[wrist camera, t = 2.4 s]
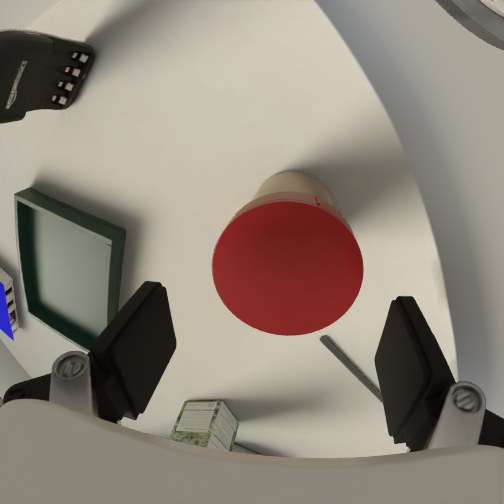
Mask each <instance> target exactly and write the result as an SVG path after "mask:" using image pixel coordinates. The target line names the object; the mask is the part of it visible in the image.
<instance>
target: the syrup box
mask: <svg viewBox="0 0 504 504" xmlns="http://www.w3.org/2000/svg"><path fill="white" fill-rule="evenodd" d="M238 425H239V423H238V421H237V420H236V419H235V417H234V416H233V415H232V413H231V412H230V411H229V409H228V408H227V407H226V405H225V404H224V402H223V401H222V400H214V401H185V402H184V404H183V407H182V409H181V411H180V414H179V416H178V418H177V421H176V423H175V425H174V428H173V430H172V432H171V435H170V437H169V440H173V441H178V442H182V443H186V444H191V445H196V446H201V447H206V448H212V449H218V450H224V451H230V452H232V449H233V445H234V441H235V437H236V433H237V429H238Z"/></svg>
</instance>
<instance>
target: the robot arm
mask: <svg viewBox="0 0 504 504" xmlns="http://www.w3.org/2000/svg"><path fill="white" fill-rule="evenodd" d="M480 1H481V2H482V3H483V4H485V5H486V6H487V7H488V8H490V9H491V10H493V11H494V12H495V13H497V14H499V15H500V16H502V17H504V0H480ZM89 349H90V351H89V353H88V354H85V353H83V352H81V351H70V352H67V353H64V354H63V355H61V356H60V357H58V358H57V359H56V361H55V362H54V363H53V367H52V373H50V374H47V375H44V376H41V377H37V378H34V379H31V380H27V381H24V382H20V383H17V384H15V385H13V386H12V387H10V388H9V389H8V390H7V391H6V393H5V395H4V399H2V398H1V397H0V504H504V419H503V418H501V417H499V416H497V415H496V414H494V413H492V412H490V411H489V410H487V409H485V407H486V398H485V395H484V393H483V391H482V390H481V389H480V388H479V387H478V386H477V385H475V384H473V383H471V382H467V381H461V382H457V383H456V382H455V380H454V377H453V375H452V373H451V370H450V368H449V366H448V364H447V361H446V359H445V357H444V355H443V353H442V351H441V349H440V347H439V344H438V342H437V340H436V338H435V336H434V335H433V333H432V331H431V329H430V328H429V326H428V324H427V322H426V320H425V318H424V316H423V314H422V312H421V310H420V308H419V307H418V305H417V303H416V301H415V299H414V298H413V297H412V296H398V297H397V298H396V300H393V301H392V302H391V305H390V309H389V312H388V316H387V319H386V323H385V326H384V330H383V333H382V336H381V339H380V343H379V346H378V349H377V352H376V355H375V367H376V371H377V376H378V380H379V385H380V390H381V395H382V400H383V405H384V410H385V416H386V421H387V427H388V433H389V435H390V436H393V438H394V444H398V443H406V446H407V447H409V449H408V451H407V453H401V454H392V455H382V456H371V457H356V458H291V457H275V456H263V455H254V454H245V453H237V452H230V451H224V450H218V449H212V448H206V447H201V446H196V445H191V444H186V443H182V442H178V441H173V440H169V439H165V438H161V437H157V436H154V435H150V434H147V433H143V432H140V431H136V430H133V429H130V428H127V427H124V426H121V421H120V420H122V418H123V416H124V417H127V418H130V419H133V420H136V419H137V417H138V415H139V413H140V414H142V413H143V412H144V411H145V409H146V407H147V405H148V403H149V401H150V399H151V397H152V395H153V393H154V391H155V389H156V387H157V385H158V383H159V381H160V379H161V377H162V375H163V373H164V371H165V369H166V367H167V365H168V363H169V361H170V359H171V357H172V355H173V353H174V351H175V349H176V337H175V332H174V328H173V323H172V318H171V313H170V307H169V302H168V297H167V291H166V288H165V287H163V286H162V284H161V283H160V282H152V281H145V282H144V283H143V284H142V285H141V287H140V288H139V289H138V290H137V291H136V292H135V293H134V295H133V296H132V297H131V298H130V299H129V300H128V302H127V303H126V304H125V305H124V306H123V307H122V309H121V310H120V311H119V312H118V313H117V314H116V316H115V317H114V318H113V319H112V320H111V322H110V323H109V324H108V325H107V326H106V328H105V329H104V330H103V331H102V333H101V334H100V335H99V336H98V337H97V339H96V340H95V341H94V342H93V344H92V345H91V346H90V347H89Z"/></svg>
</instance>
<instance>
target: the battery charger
mask: <svg viewBox="0 0 504 504" xmlns="http://www.w3.org/2000/svg"><path fill="white" fill-rule="evenodd" d="M94 57H95V52H94V50H93V48H92V47H91V46H90V45H88V44H87V43H86V42H84V41H79V40H73V39H68V38H63V37H59V36H55V35H51V34H47V33H42V32H37V31H31V30H21V29H3V30H0V124H1V123H8V122H13V121H19V120H22V119H23V118H24V117H25V114H26V112H28V111H33V110H39V109H53V110H62V109H67V108H69V107H70V105H71V104H72V102H73V100H74V98H75V96H76V94H77V92H78V90H79V88H80V86H81V84H82V82H83V80H84V78H85V76H86V74H87V72H88V70H89V68H90V67H91V65H92V63H93V60H94Z"/></svg>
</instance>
